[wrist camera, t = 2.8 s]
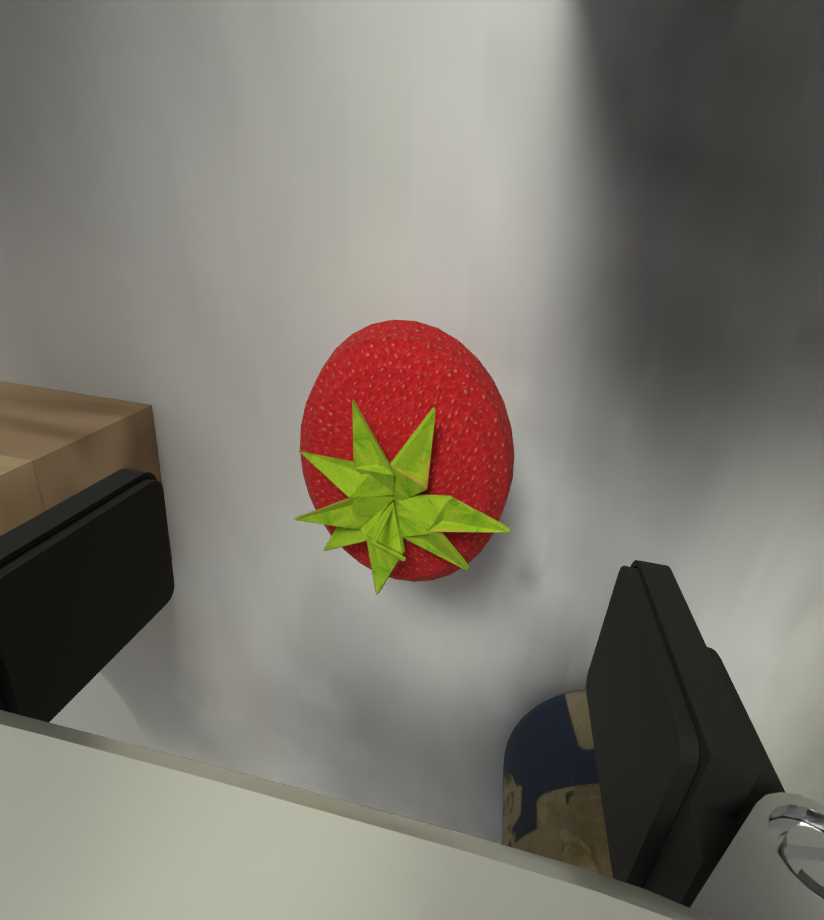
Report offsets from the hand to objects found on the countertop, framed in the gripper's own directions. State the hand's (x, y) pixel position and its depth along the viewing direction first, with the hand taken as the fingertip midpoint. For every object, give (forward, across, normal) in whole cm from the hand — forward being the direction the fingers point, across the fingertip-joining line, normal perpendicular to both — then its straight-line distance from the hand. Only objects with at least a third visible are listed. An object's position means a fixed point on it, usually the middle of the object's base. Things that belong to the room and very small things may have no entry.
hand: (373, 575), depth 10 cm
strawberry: (+10, 0, -1) cm, 10 cm away
